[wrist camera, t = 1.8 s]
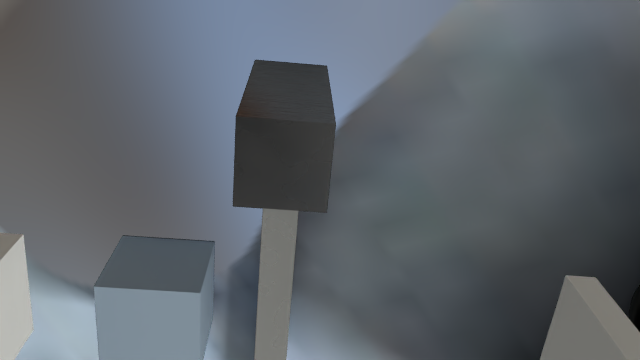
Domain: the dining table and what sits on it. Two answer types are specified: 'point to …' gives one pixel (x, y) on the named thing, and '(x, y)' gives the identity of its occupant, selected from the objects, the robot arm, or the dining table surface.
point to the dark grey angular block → (282, 177)
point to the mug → (635, 309)
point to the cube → (155, 299)
